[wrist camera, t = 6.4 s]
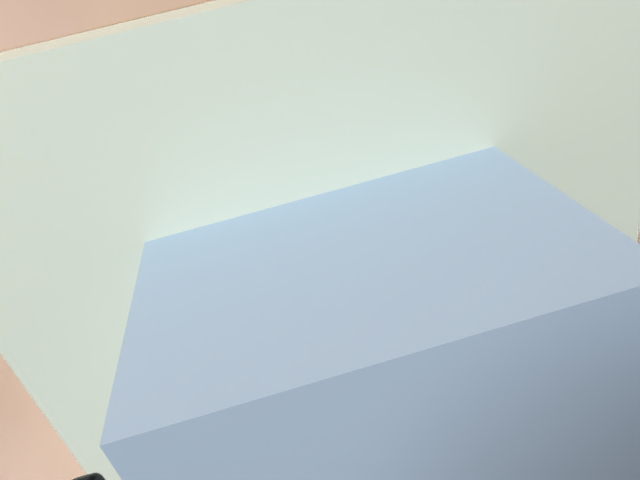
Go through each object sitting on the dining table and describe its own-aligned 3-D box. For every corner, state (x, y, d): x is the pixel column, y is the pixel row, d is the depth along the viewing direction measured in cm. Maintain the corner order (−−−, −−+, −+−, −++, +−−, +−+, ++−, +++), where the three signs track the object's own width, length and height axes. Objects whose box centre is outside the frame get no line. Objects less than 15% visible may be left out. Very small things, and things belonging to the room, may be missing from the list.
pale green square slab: (615, -97, 9) (686, -105, 7) (574, 394, 15) (610, 436, 13) (-114, 80, 8) (-177, 105, 7) (164, 519, 14) (159, 576, 13)
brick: (494, 146, 9) (683, 272, 5) (501, 390, 12) (623, 572, 8) (144, 242, 8) (98, 445, 5) (246, 467, 11) (263, 690, 8)
